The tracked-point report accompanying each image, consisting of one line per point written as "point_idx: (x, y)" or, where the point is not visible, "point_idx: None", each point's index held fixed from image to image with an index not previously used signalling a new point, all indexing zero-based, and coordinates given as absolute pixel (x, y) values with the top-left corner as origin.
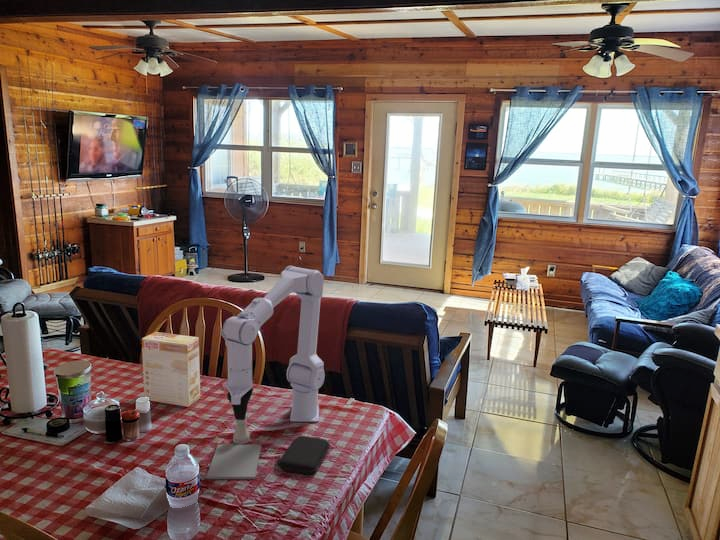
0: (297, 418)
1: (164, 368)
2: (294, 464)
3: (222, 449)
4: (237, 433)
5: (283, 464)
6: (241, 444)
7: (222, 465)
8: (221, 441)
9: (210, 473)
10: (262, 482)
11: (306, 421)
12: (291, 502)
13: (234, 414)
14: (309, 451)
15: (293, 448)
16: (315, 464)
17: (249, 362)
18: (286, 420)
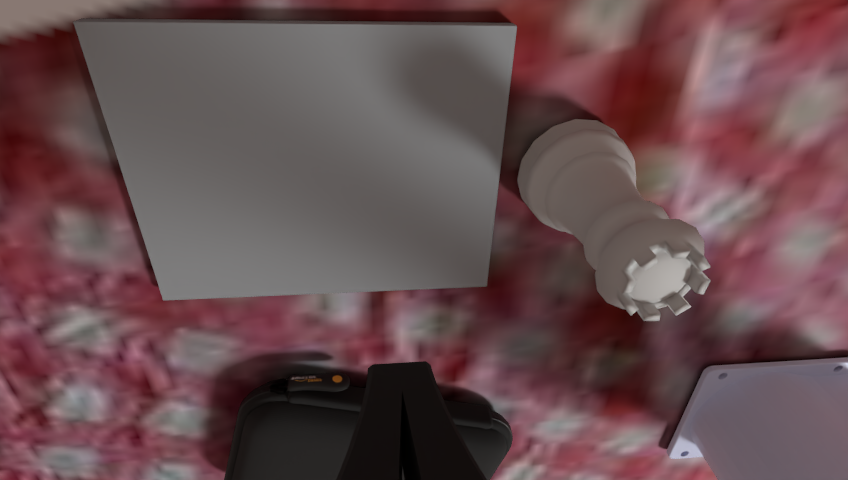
0: (713, 395)
1: None
2: (244, 462)
3: (446, 73)
4: (564, 179)
5: (248, 422)
6: (521, 175)
7: (240, 112)
8: (583, 36)
9: (124, 45)
10: (149, 326)
11: (680, 420)
12: (37, 436)
13: (362, 409)
14: None
15: None
16: None
17: None
18: (727, 347)
